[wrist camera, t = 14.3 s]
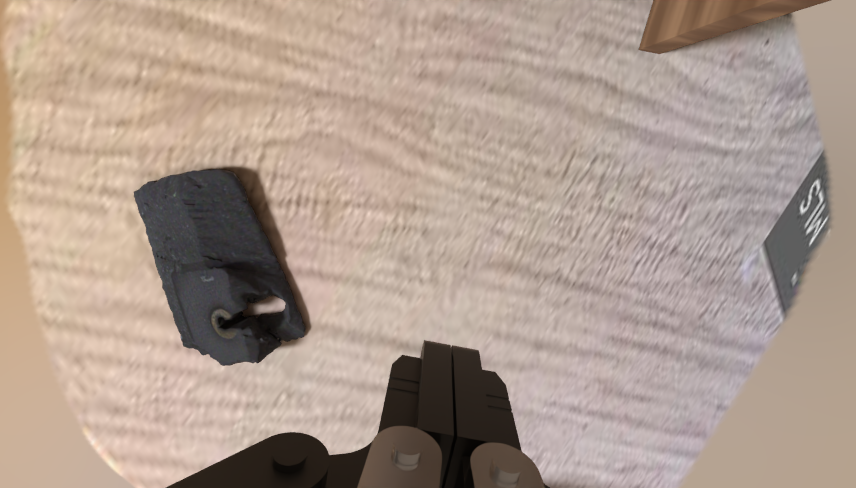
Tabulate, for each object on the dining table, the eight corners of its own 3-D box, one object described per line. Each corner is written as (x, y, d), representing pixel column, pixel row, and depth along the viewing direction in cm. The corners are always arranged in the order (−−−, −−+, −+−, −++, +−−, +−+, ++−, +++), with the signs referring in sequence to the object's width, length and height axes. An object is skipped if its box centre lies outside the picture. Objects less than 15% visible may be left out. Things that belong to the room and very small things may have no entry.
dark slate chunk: (261, 157, 46) (241, 161, 41) (312, 341, 52) (300, 363, 47) (127, 182, 47) (93, 189, 42) (192, 359, 53) (168, 382, 48)
